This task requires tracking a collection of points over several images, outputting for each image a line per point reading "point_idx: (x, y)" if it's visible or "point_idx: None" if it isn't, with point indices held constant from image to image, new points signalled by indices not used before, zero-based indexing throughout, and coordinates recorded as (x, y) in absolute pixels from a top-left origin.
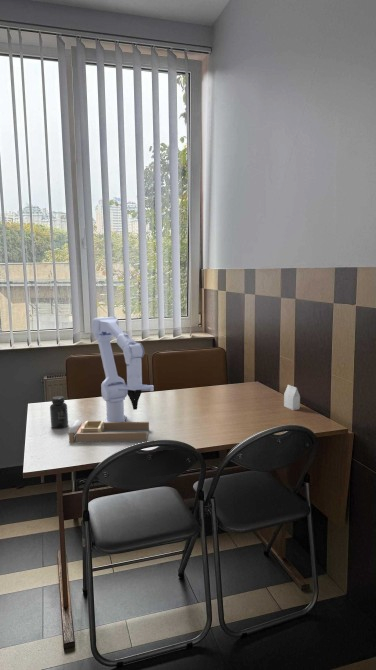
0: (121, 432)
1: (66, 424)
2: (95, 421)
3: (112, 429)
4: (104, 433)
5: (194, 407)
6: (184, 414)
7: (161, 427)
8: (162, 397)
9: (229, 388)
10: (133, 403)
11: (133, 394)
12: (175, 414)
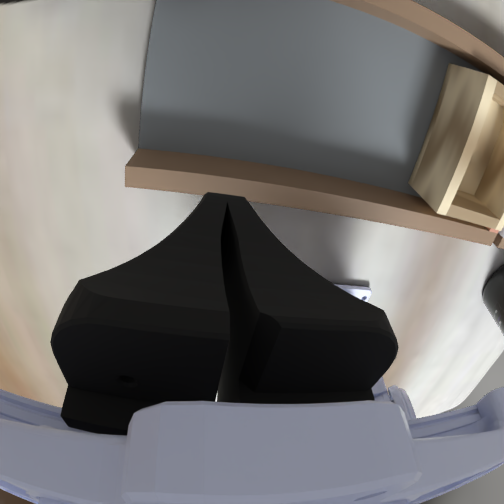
0: None
1: (499, 276)
2: (473, 211)
3: (365, 184)
4: (457, 26)
5: (21, 368)
6: (24, 327)
7: (74, 195)
8: None
9: None
10: (246, 224)
11: (259, 309)
12: None
